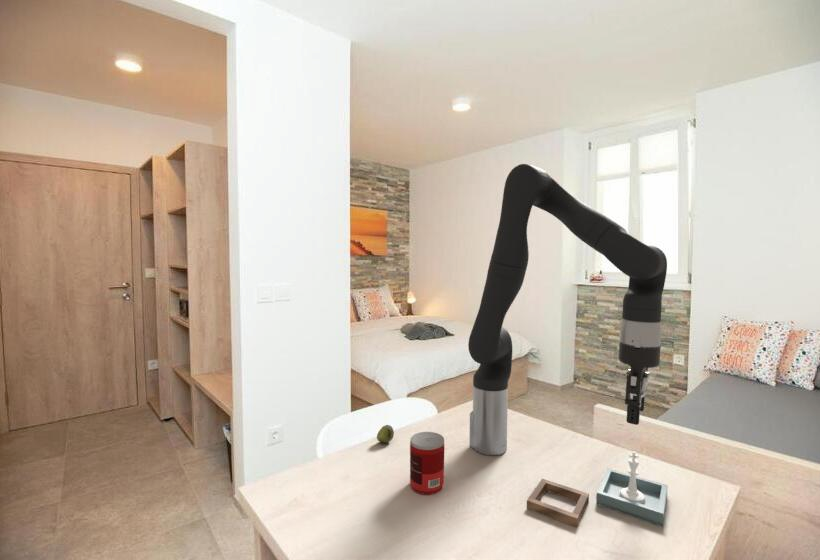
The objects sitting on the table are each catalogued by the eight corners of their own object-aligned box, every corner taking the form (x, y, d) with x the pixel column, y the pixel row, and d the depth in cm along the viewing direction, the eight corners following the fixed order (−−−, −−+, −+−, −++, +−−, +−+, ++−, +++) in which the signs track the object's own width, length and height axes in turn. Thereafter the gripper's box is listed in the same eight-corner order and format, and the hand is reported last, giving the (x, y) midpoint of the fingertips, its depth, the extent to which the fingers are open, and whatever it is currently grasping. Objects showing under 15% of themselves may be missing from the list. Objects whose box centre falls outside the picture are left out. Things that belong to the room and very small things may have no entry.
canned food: (448, 480, 95) (449, 434, 94) (436, 499, 88) (436, 450, 87) (418, 473, 98) (418, 428, 97) (404, 490, 91) (404, 443, 90)
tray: (596, 504, 86) (596, 492, 86) (607, 478, 96) (607, 468, 96) (662, 526, 79) (663, 513, 79) (667, 496, 89) (667, 485, 89)
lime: (375, 445, 112) (375, 427, 112) (380, 437, 117) (380, 420, 117) (391, 447, 111) (391, 429, 111) (395, 439, 116) (395, 422, 116)
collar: (526, 508, 85) (526, 500, 84) (541, 486, 93) (542, 478, 93) (577, 527, 79) (577, 518, 79) (588, 501, 87) (589, 493, 87)
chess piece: (649, 505, 85) (651, 459, 84) (623, 502, 85) (625, 456, 85) (640, 492, 89) (642, 448, 89) (616, 489, 90) (617, 445, 90)
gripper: (624, 333, 93) (621, 402, 94) (614, 344, 81) (609, 423, 83) (663, 337, 88) (658, 410, 90) (657, 350, 77) (652, 433, 78)
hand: (635, 416), depth 86 cm, fingers open, 8 cm apart
